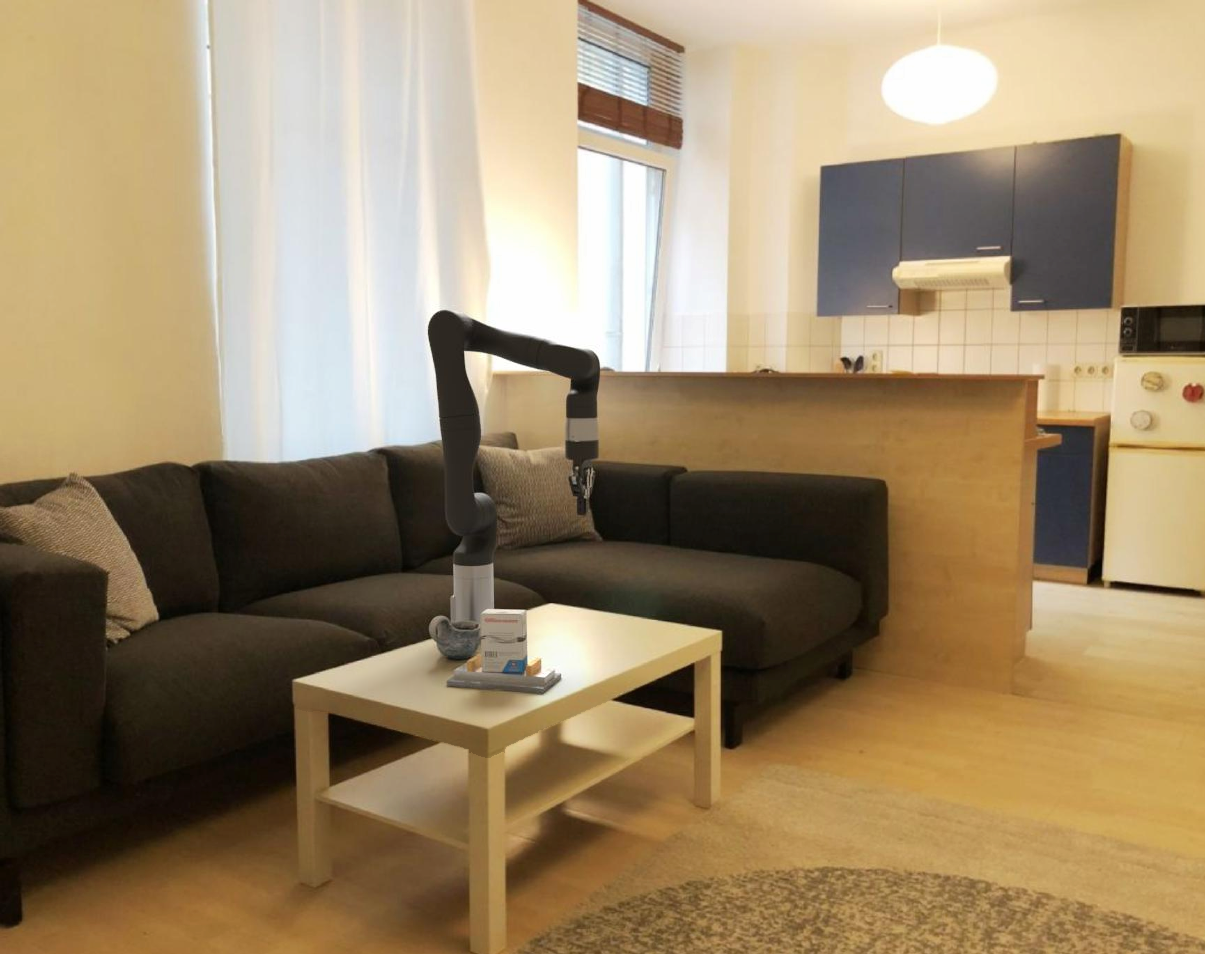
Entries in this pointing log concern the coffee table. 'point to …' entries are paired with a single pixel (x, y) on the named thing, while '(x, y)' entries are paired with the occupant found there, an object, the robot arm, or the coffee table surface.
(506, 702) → the coffee table surface
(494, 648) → the ink box
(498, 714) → the coffee table surface
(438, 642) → the mug
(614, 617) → the coffee table surface
